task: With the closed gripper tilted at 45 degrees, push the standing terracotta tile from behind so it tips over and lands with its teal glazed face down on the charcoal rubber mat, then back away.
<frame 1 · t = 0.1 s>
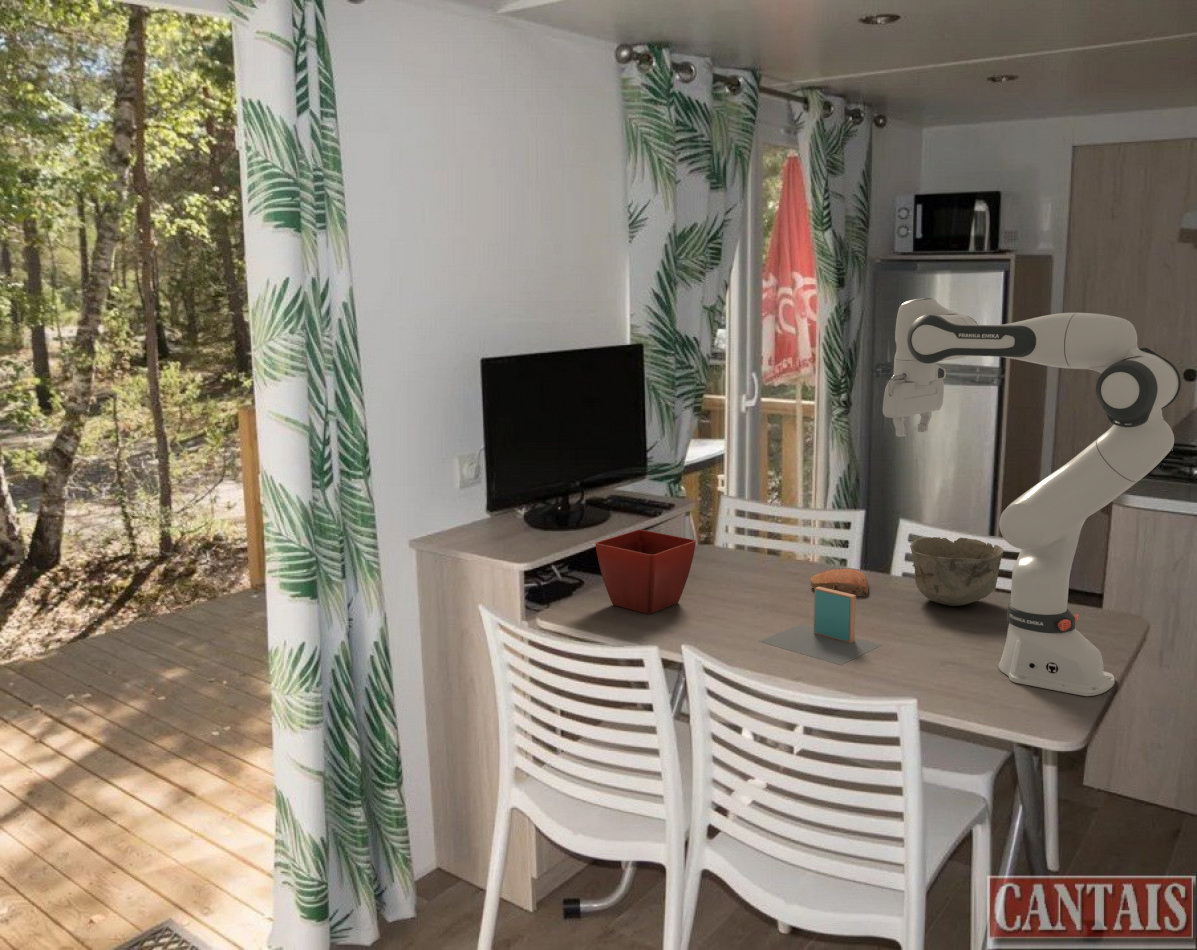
hand: (911, 434, 240), 48 cm above the table, tool pointing down, fingers open, 8 cm apart
bowl: (953, 604, 274), on the table
tile: (833, 637, 249), resting on mat
plant pot: (646, 605, 277), on the table
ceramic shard: (838, 589, 289), on the table
mat: (819, 645, 245), on the table
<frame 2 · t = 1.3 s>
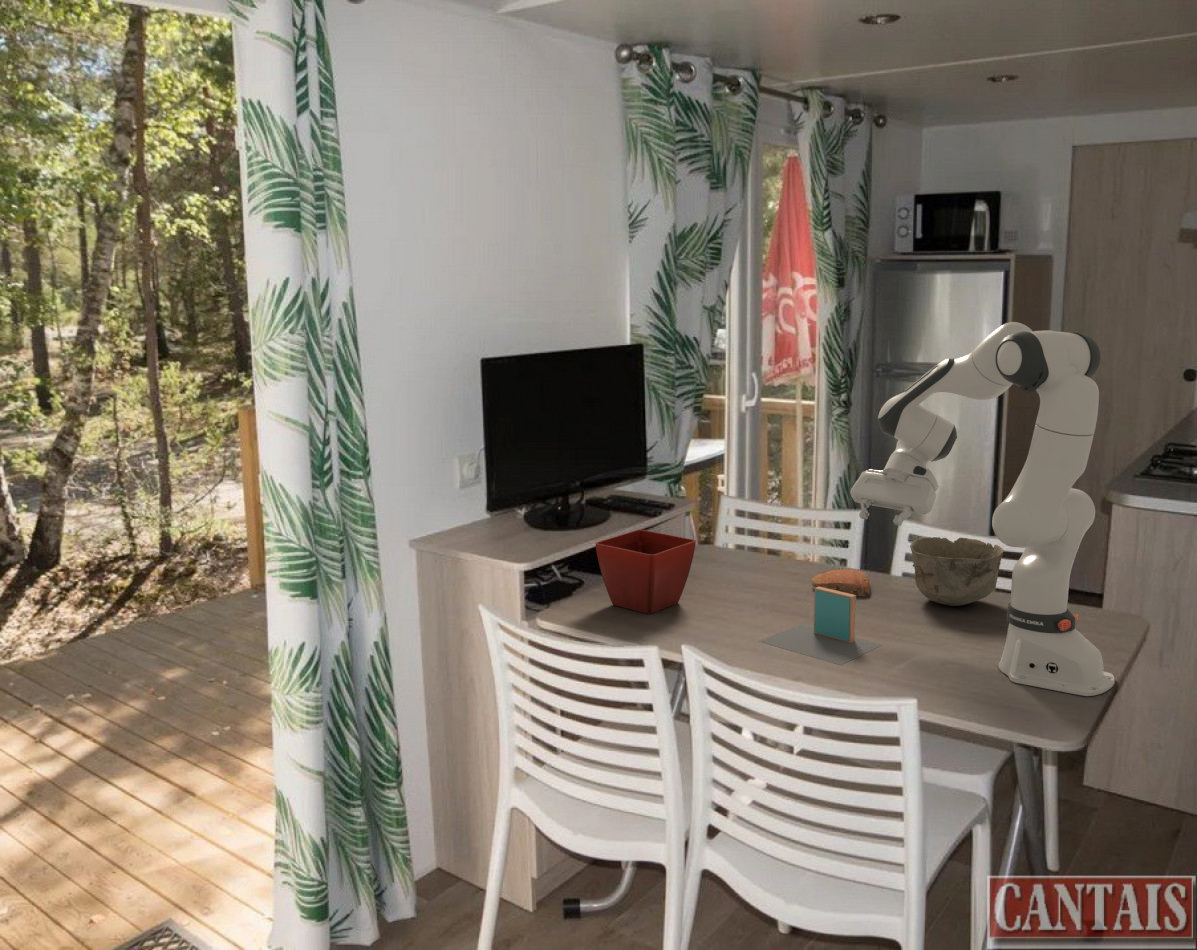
hand: (879, 520, 253), 26 cm above the table, tool tilted 45°, fingers open, 8 cm apart
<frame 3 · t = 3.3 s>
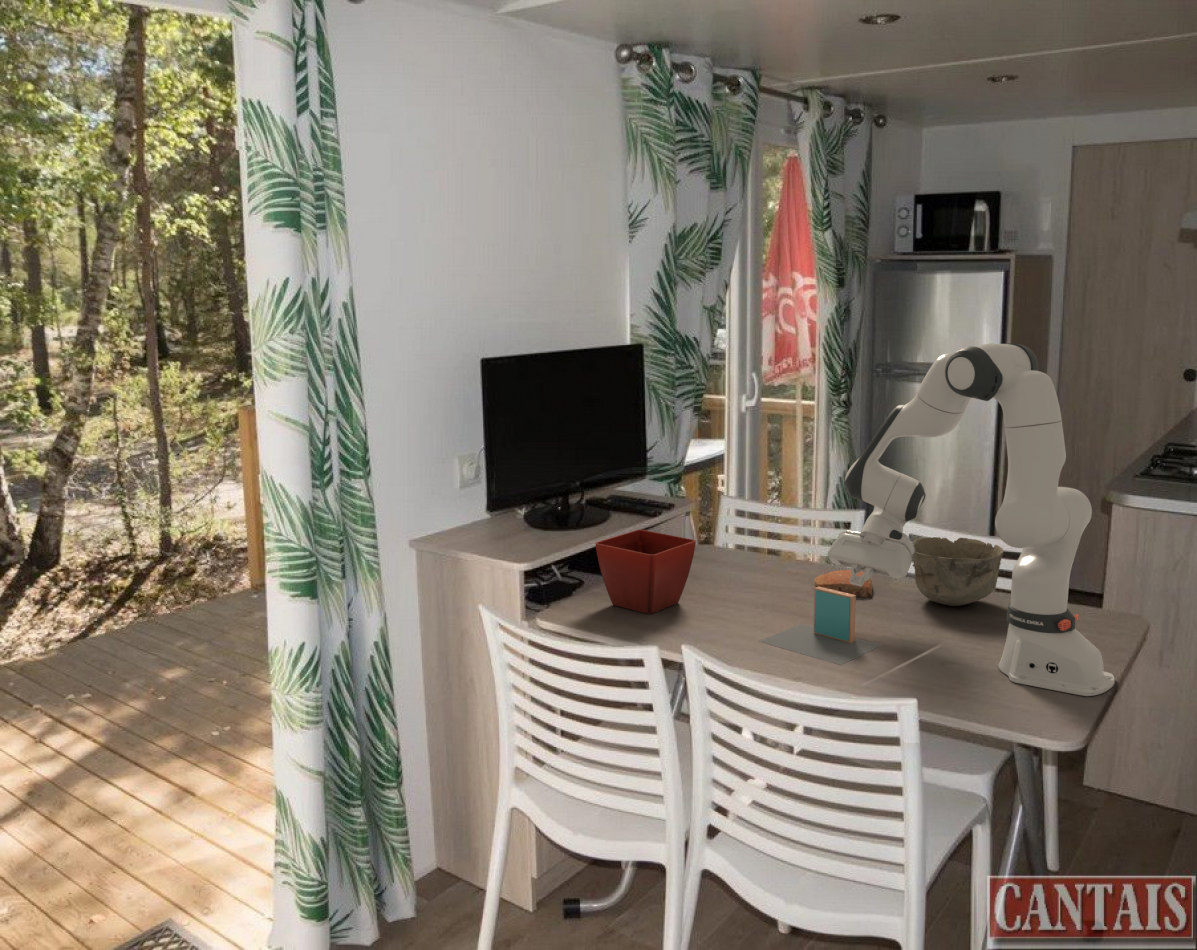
hand: (855, 584, 253), 11 cm above the table, tool tilted 45°, fingers closed
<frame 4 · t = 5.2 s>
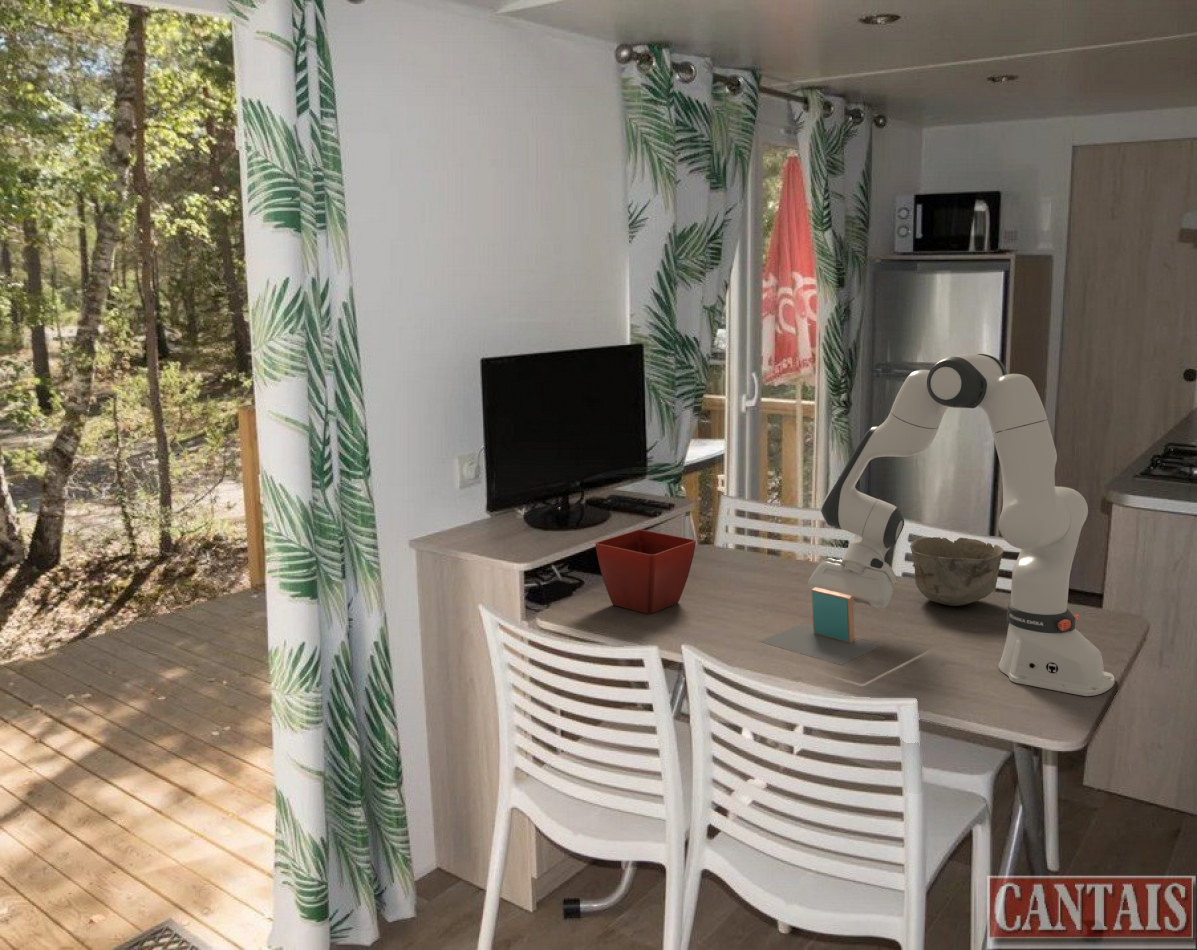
hand: (836, 614, 248), 6 cm above the table, tool tilted 45°, fingers closed
tile: (833, 636, 249), point 1 cm above the table, tilted 7°, touching mat
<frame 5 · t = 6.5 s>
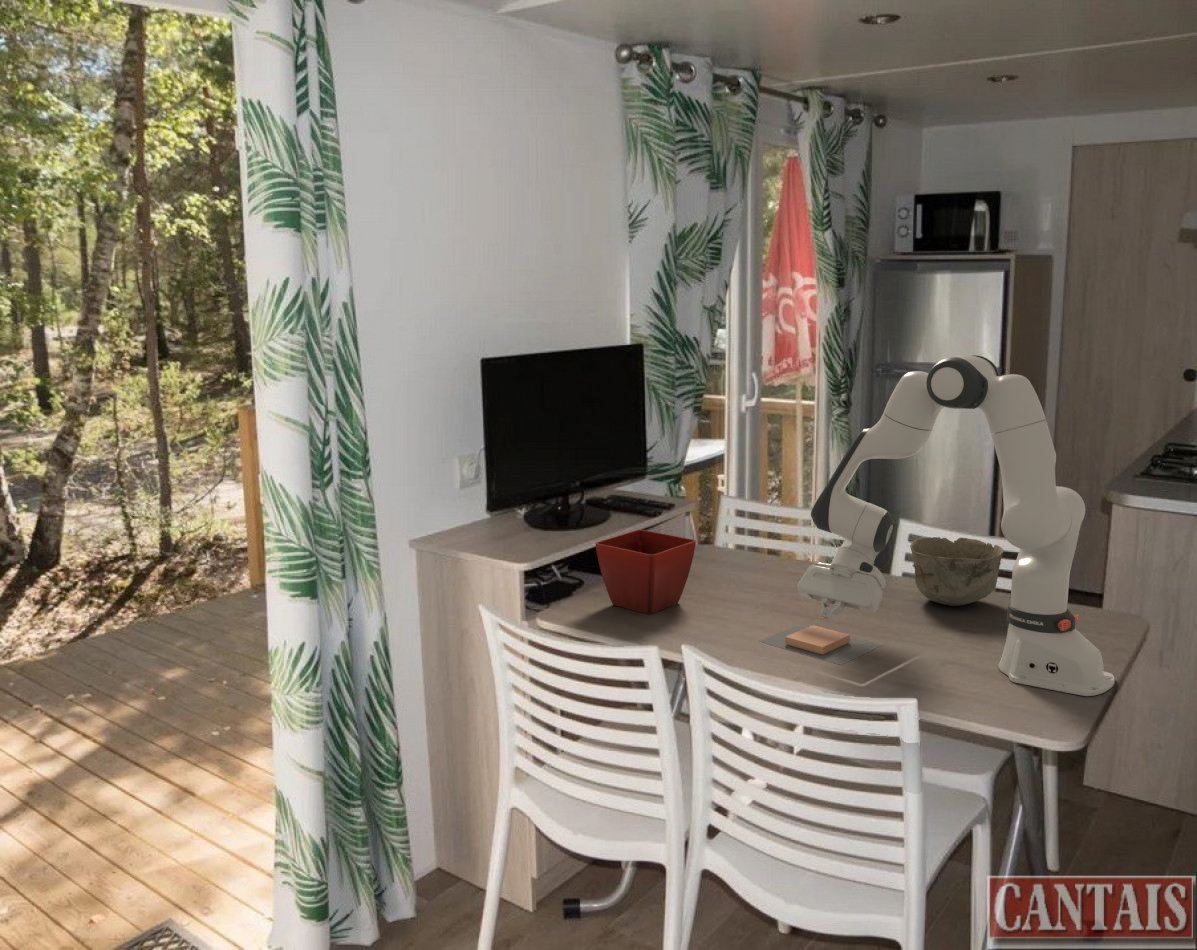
hand: (825, 618, 245), 6 cm above the table, tool tilted 45°, fingers closed
tile: (831, 634, 248), point 1 cm above the table, tilted 90°, touching mat
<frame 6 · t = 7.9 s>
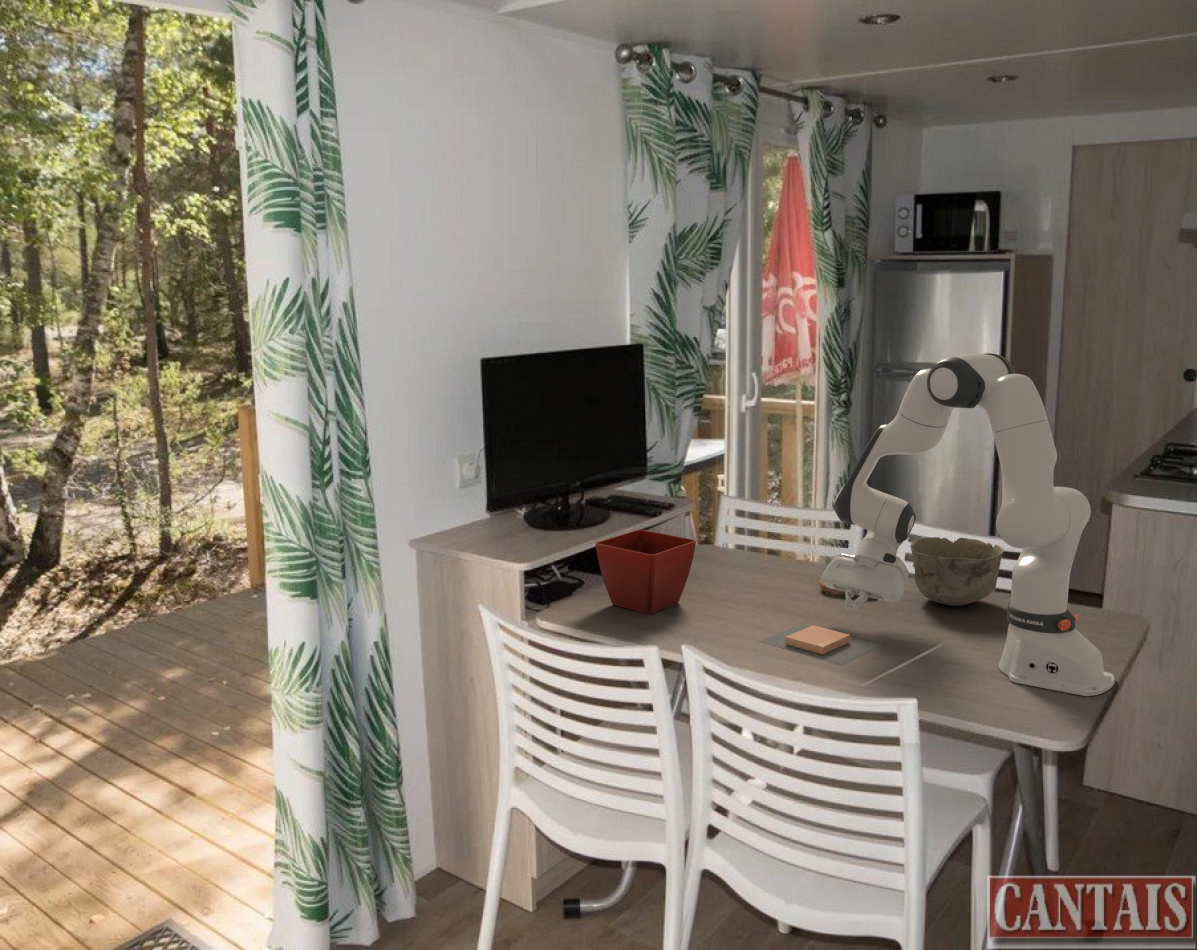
hand: (849, 608, 252), 6 cm above the table, tool tilted 45°, fingers closed
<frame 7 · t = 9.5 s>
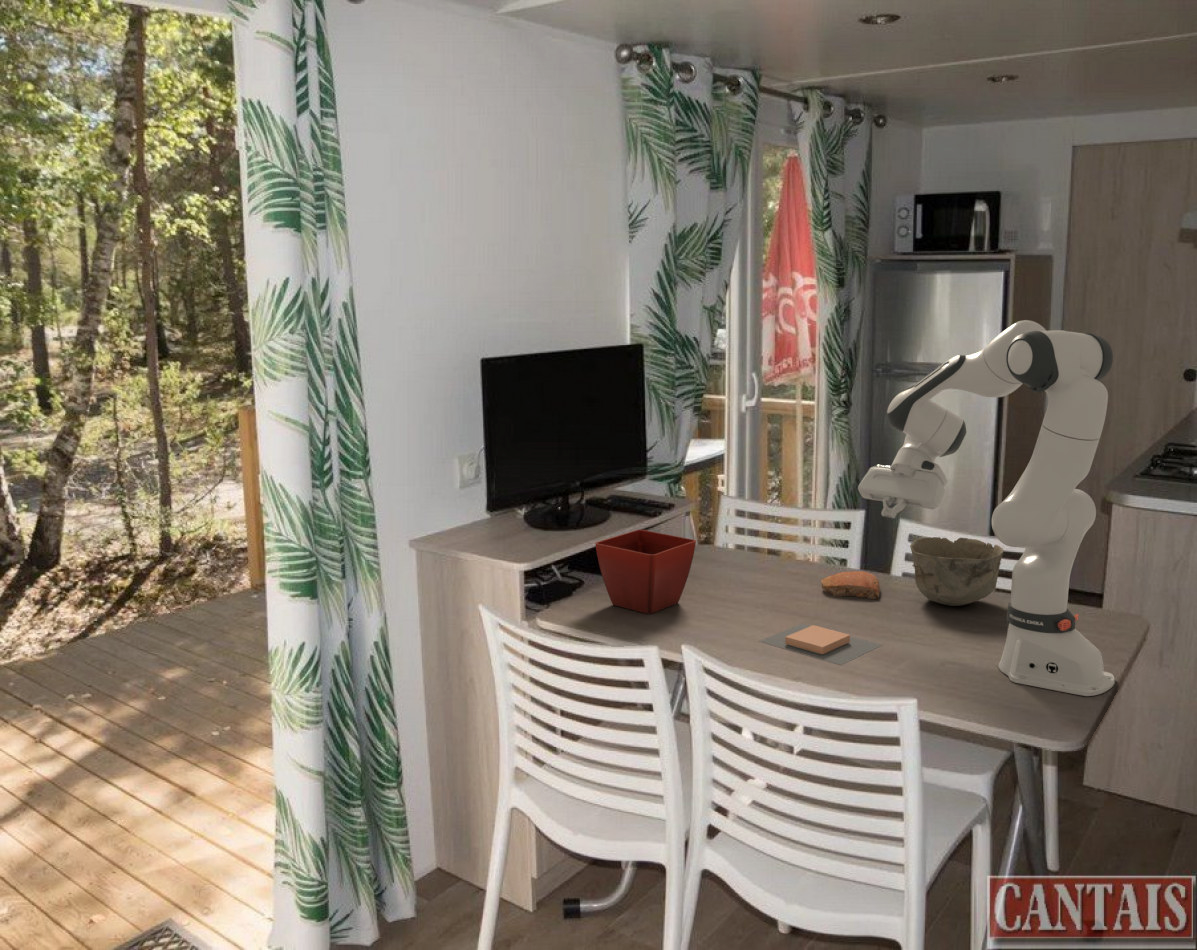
hand: (887, 516, 252), 27 cm above the table, tool tilted 45°, fingers closed
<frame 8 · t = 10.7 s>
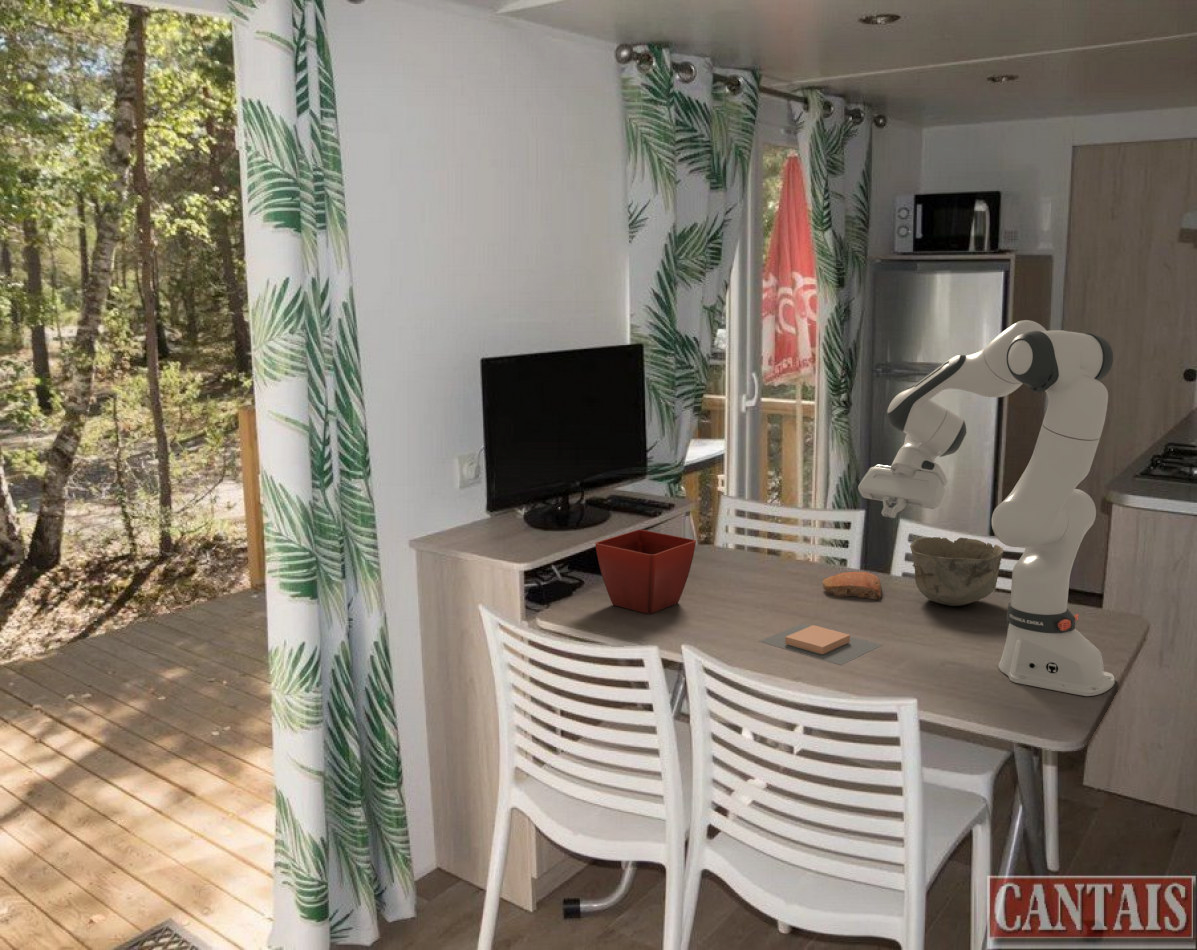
hand: (887, 515, 252), 27 cm above the table, tool tilted 45°, fingers closed
at the end: tile tilted 90°; tile inside the target area on the mat (6.1 cm from its centre), point 1.5 cm above the mat's base; the gripper is holding nothing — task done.
